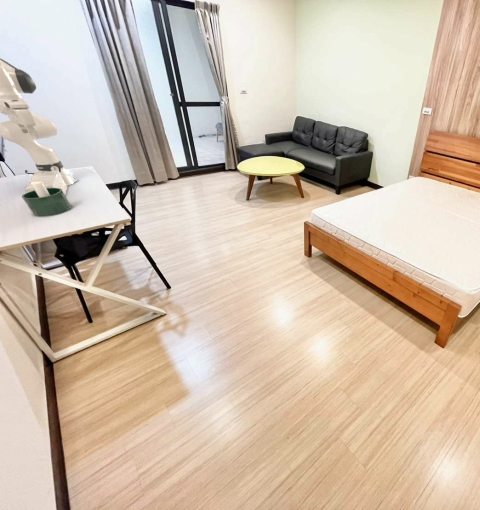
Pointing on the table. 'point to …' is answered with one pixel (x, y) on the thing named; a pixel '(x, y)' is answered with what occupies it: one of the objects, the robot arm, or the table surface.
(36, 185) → the tube
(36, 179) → the cream long block
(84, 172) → the table surface
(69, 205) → the pot
